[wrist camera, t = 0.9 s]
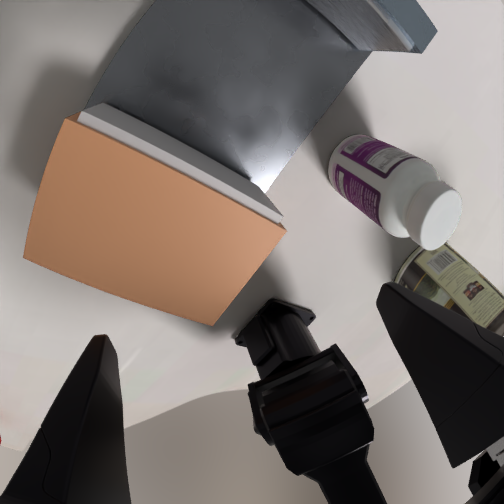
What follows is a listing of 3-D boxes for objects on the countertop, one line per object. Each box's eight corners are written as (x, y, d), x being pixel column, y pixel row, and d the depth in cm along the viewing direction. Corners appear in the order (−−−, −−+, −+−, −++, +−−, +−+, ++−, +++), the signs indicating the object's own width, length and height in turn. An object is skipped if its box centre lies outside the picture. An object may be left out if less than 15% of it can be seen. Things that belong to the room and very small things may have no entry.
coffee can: (405, 310, 37) (461, 381, 26) (380, 284, 31) (453, 375, 20) (452, 259, 34) (515, 323, 23) (438, 222, 28) (523, 297, 17)
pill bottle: (367, 199, 23) (444, 262, 16) (317, 189, 22) (397, 261, 14) (387, 142, 21) (478, 189, 13) (337, 124, 19) (437, 168, 11)
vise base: (200, 273, 23) (215, 335, 18) (48, 209, 16) (13, 263, 11) (379, 32, 15) (444, 33, 10) (243, -76, 8) (278, -121, 3)
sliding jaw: (200, 276, 21) (212, 325, 17) (50, 214, 15) (23, 257, 11) (262, 187, 19) (292, 223, 15) (97, 99, 12) (70, 107, 9)
